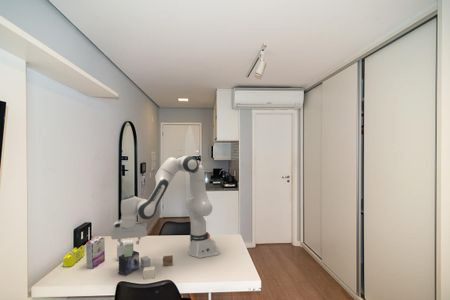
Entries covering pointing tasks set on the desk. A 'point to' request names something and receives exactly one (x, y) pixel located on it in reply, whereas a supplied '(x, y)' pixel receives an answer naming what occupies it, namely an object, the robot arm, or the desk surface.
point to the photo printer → (122, 248)
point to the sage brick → (128, 250)
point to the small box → (128, 263)
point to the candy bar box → (95, 252)
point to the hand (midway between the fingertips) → (129, 244)
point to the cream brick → (149, 272)
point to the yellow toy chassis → (73, 256)
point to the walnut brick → (168, 260)
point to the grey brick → (145, 261)
